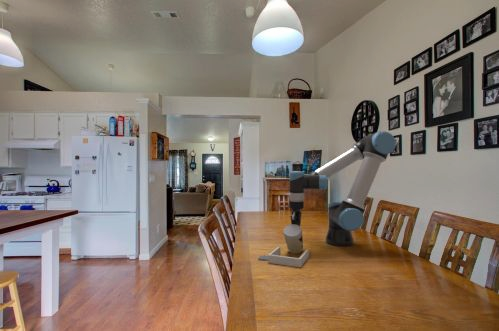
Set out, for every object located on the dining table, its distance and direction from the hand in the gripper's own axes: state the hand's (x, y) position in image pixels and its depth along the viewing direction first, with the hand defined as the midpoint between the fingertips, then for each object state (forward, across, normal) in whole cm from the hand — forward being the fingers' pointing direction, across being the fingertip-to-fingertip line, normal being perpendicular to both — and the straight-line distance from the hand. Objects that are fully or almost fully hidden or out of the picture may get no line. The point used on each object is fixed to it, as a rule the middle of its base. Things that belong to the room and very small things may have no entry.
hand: (295, 245), depth 144 cm
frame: (+2, +18, +2) cm, 18 cm away
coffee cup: (0, +4, +1) cm, 4 cm away
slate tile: (+3, +21, -9) cm, 23 cm away
